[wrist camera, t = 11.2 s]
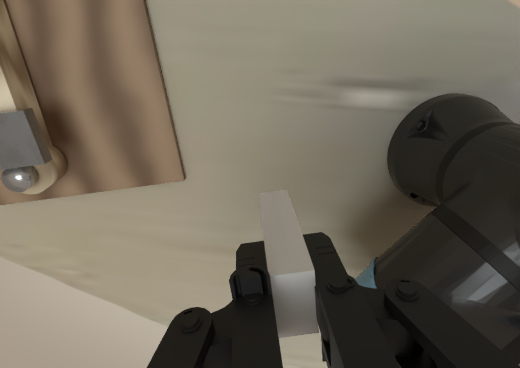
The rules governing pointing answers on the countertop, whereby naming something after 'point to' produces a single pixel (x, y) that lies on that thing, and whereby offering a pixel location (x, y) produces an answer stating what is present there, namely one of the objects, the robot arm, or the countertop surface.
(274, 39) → the countertop surface
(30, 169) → the pintle
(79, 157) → the base plate
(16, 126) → the block
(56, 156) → the link
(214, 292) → the countertop surface
